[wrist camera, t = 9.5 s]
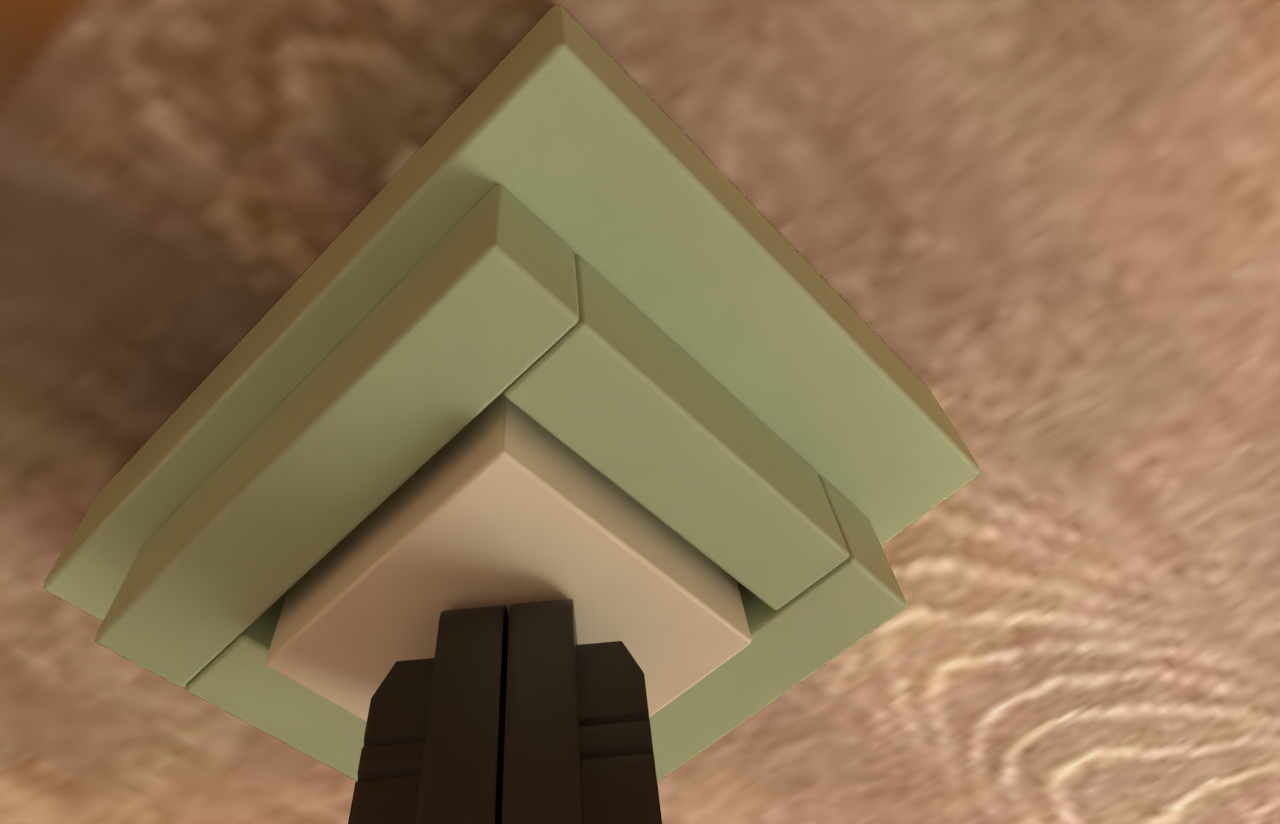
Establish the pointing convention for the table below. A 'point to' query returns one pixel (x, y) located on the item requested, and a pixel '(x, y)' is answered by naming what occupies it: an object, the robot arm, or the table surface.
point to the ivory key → (506, 568)
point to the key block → (531, 402)
